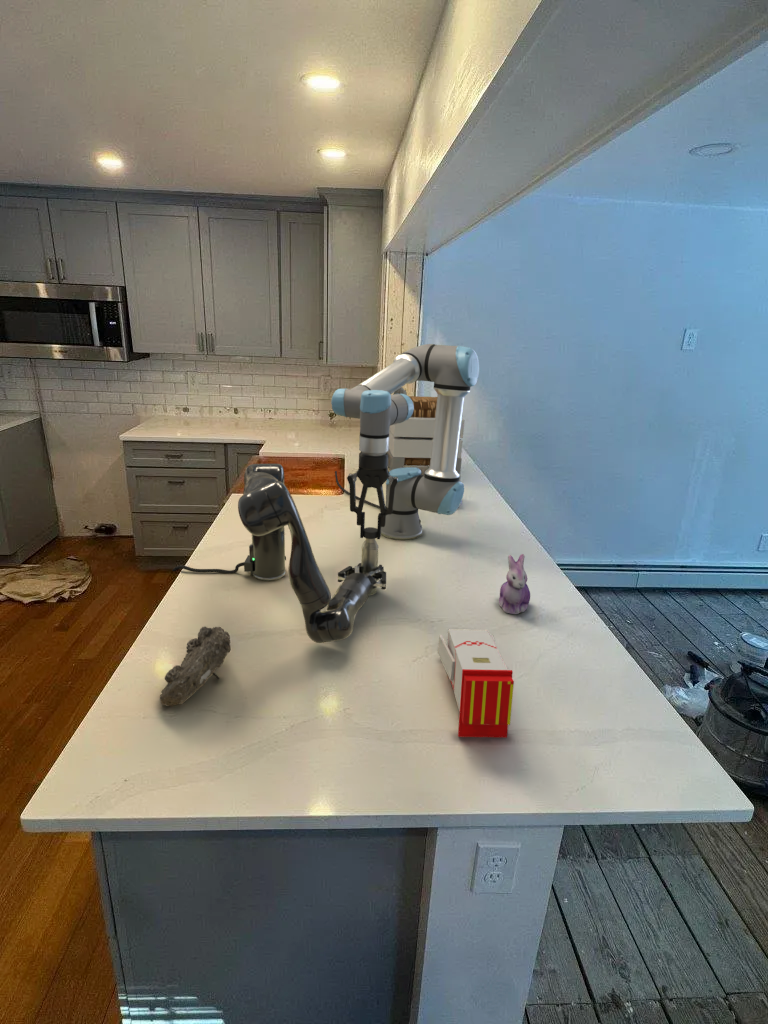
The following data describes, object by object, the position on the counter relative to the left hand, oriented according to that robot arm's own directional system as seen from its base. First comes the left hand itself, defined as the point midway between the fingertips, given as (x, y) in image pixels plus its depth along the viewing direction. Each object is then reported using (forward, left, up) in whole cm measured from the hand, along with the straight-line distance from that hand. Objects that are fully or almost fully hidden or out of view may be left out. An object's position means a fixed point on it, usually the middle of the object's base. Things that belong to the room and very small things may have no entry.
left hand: (371, 566), depth 159 cm
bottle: (0, -3, -6) cm, 7 cm away
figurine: (+40, +2, -6) cm, 40 cm away
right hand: (0, -3, +10) cm, 10 cm away
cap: (0, -3, +12) cm, 12 cm away
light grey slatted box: (-12, +122, -6) cm, 123 cm away
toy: (+33, -38, -6) cm, 51 cm away
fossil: (-22, -52, -6) cm, 56 cm away
